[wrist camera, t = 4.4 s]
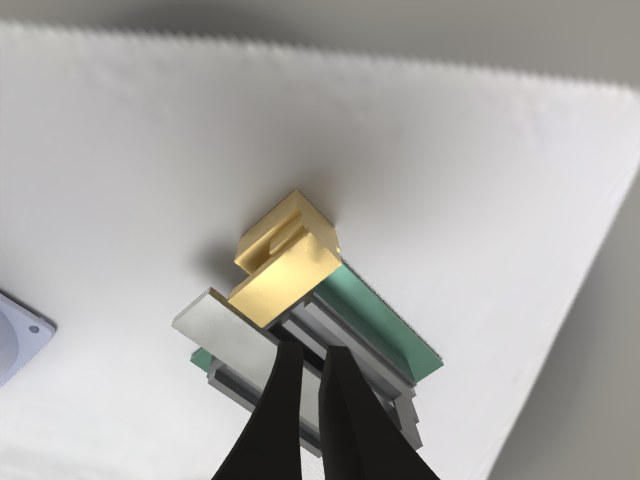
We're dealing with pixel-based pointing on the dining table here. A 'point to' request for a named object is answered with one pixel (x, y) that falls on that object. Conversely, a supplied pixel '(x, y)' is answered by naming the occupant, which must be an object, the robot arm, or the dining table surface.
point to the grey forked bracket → (406, 420)
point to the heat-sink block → (339, 330)
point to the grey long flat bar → (242, 345)
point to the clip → (284, 258)
